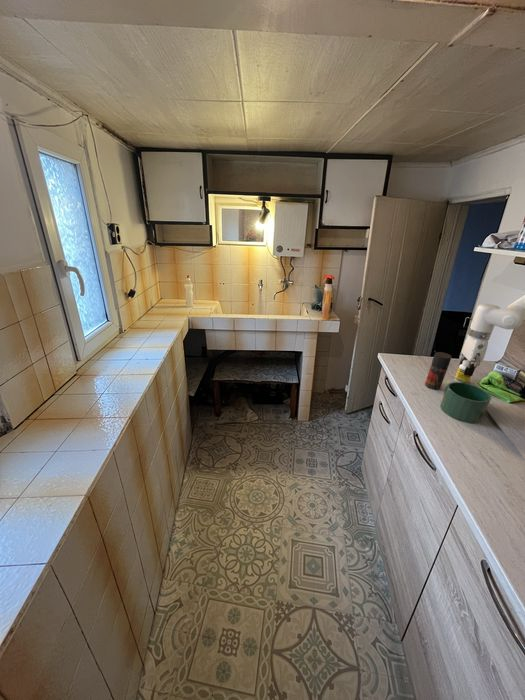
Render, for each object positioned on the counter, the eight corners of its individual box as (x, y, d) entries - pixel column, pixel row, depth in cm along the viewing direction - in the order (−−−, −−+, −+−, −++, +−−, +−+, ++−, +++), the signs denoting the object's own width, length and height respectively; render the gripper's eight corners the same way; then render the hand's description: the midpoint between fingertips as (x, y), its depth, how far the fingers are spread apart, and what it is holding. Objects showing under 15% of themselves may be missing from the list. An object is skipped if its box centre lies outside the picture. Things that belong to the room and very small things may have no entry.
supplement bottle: (453, 381, 126) (461, 362, 122) (454, 376, 130) (461, 357, 126) (468, 385, 123) (476, 365, 119) (468, 380, 127) (476, 361, 123)
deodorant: (424, 381, 125) (434, 350, 119) (439, 384, 123) (450, 354, 117) (425, 387, 120) (435, 356, 114) (440, 391, 118) (452, 359, 112)
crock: (472, 404, 110) (481, 385, 106) (488, 426, 98) (498, 405, 94) (435, 398, 113) (442, 379, 109) (446, 419, 101) (454, 398, 97)
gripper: (499, 342, 109) (483, 383, 116) (480, 328, 124) (466, 364, 131) (477, 340, 110) (462, 380, 118) (461, 326, 125) (448, 362, 133)
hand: (464, 371), depth 124 cm, fingers closed on supplement bottle, 5 cm apart
